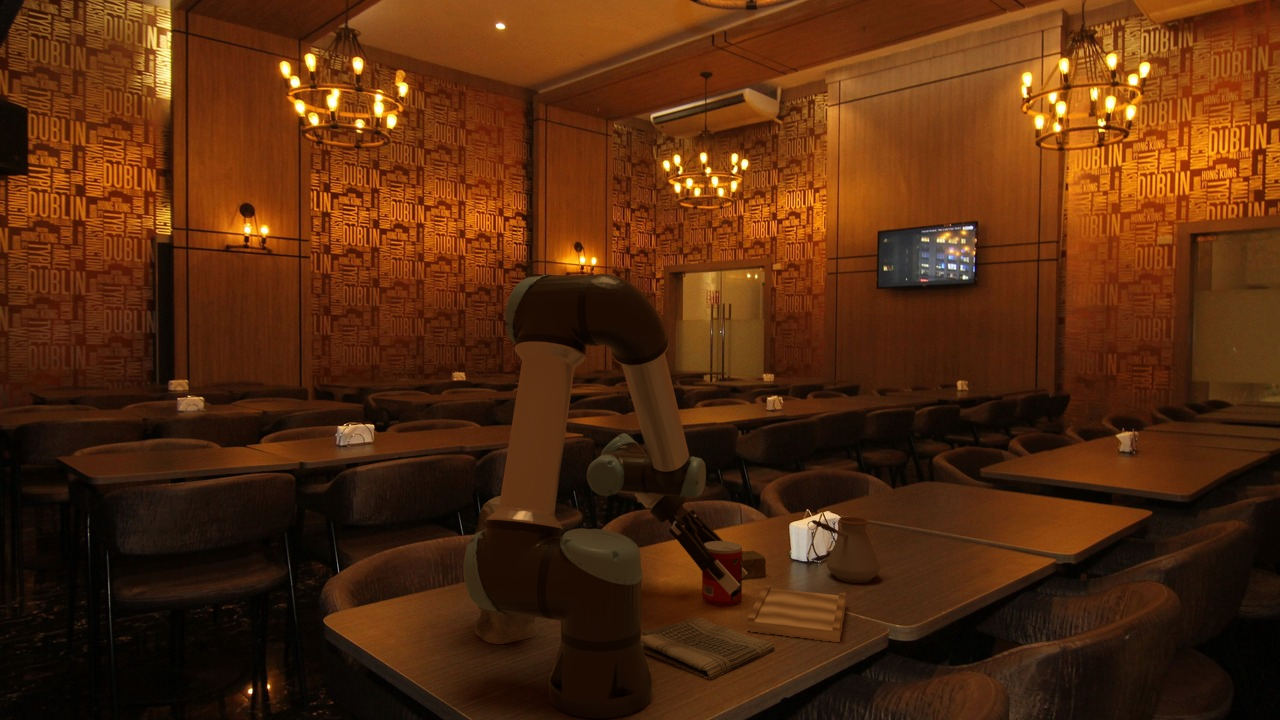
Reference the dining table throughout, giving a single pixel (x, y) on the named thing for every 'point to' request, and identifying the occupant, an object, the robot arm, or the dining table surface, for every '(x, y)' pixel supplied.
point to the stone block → (753, 564)
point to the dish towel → (703, 646)
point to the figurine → (491, 622)
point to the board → (798, 614)
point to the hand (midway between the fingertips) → (738, 583)
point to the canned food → (732, 562)
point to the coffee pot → (851, 551)
